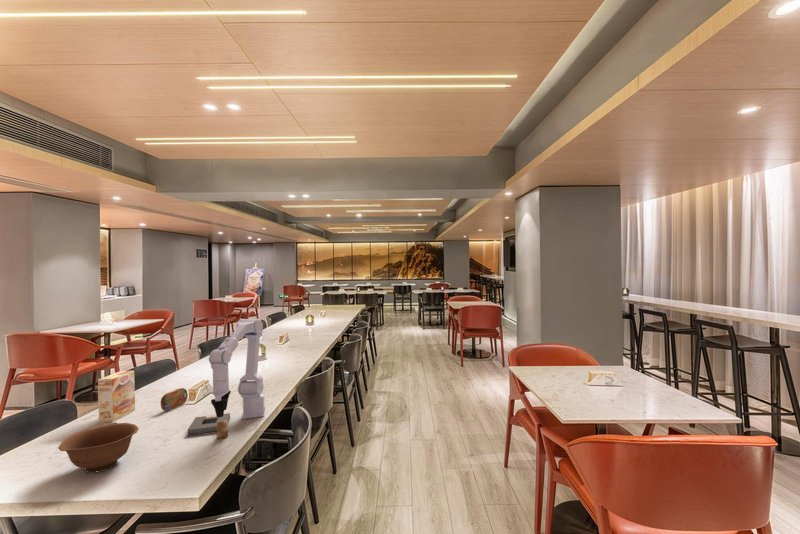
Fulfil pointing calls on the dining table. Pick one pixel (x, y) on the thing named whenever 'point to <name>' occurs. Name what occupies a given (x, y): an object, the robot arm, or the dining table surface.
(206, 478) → the dining table surface
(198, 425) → the plate
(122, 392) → the coffeecake box
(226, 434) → the peg
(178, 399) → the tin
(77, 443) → the bowl
